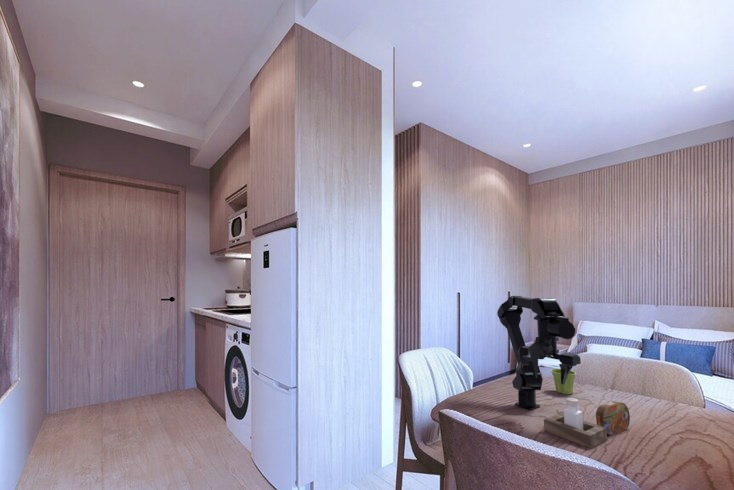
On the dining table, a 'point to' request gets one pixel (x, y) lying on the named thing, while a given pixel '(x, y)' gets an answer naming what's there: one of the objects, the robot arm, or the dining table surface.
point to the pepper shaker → (573, 414)
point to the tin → (613, 417)
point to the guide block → (576, 431)
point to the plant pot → (567, 386)
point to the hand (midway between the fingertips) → (548, 380)
